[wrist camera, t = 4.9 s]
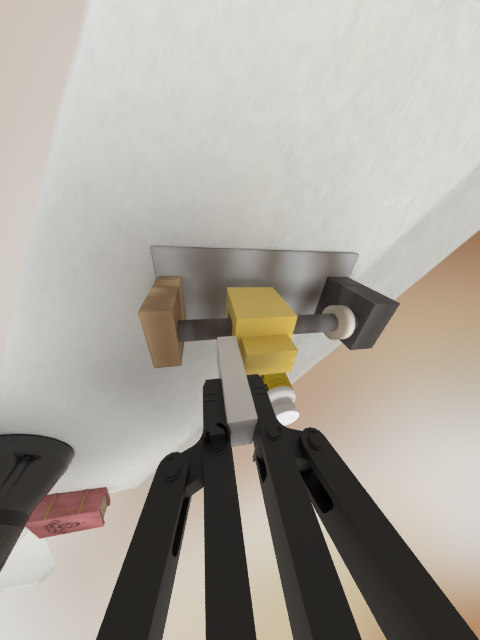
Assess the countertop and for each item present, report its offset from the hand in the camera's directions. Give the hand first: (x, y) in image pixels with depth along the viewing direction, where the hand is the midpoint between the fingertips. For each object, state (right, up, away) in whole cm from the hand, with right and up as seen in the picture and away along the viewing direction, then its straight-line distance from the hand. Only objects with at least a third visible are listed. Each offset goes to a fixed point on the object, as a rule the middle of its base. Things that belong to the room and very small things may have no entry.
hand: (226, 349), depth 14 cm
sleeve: (+2, +3, +6) cm, 7 cm away
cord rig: (+4, +6, +9) cm, 12 cm away
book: (-44, -48, +35) cm, 74 cm away
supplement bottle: (+6, -6, +18) cm, 20 cm away
